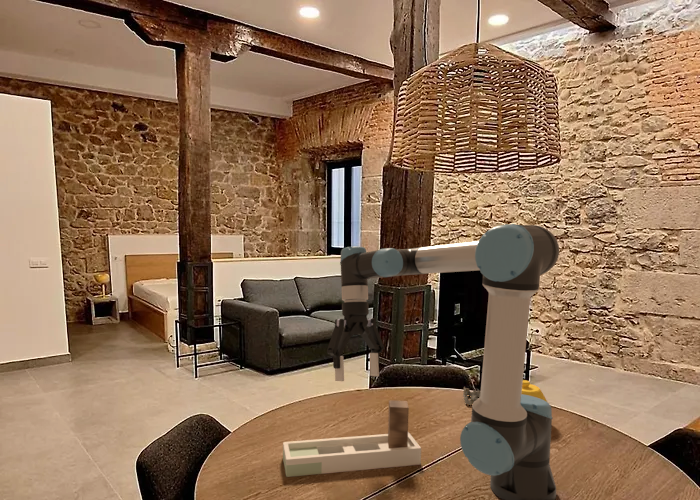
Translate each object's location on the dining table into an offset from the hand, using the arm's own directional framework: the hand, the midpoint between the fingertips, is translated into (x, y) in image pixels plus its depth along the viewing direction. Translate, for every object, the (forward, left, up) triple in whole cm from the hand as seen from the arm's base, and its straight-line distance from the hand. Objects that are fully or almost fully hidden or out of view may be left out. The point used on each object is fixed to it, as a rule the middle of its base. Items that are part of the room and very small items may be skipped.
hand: (357, 378), depth 135 cm
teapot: (-53, -26, -22) cm, 63 cm away
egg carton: (-43, -44, -22) cm, 65 cm away
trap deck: (+1, +4, -21) cm, 22 cm away
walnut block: (-11, +1, -18) cm, 22 cm away
